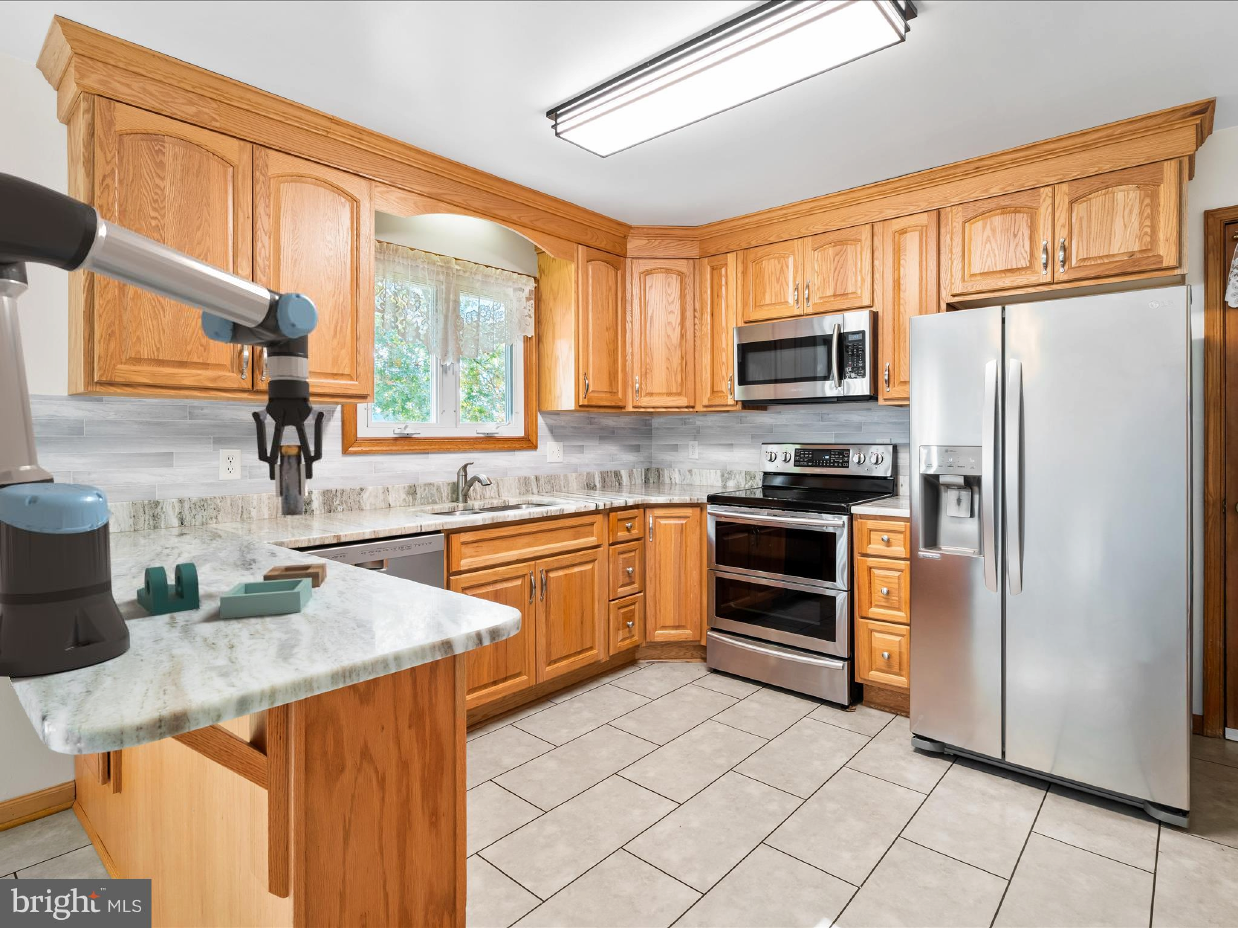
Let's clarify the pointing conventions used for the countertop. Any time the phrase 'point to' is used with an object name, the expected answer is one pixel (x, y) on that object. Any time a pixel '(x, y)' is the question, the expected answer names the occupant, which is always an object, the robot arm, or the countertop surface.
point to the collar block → (298, 573)
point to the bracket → (170, 590)
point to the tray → (266, 598)
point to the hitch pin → (291, 479)
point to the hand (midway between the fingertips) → (292, 495)
